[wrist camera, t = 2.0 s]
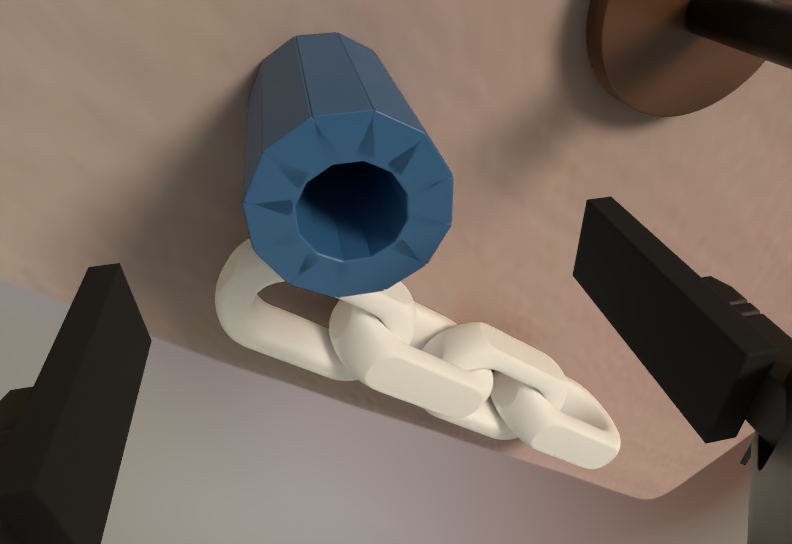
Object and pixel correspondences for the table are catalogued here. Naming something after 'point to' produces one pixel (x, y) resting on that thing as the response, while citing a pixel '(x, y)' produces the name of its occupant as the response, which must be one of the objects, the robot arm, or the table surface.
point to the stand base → (661, 57)
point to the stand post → (745, 26)
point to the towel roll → (340, 171)
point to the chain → (423, 363)
